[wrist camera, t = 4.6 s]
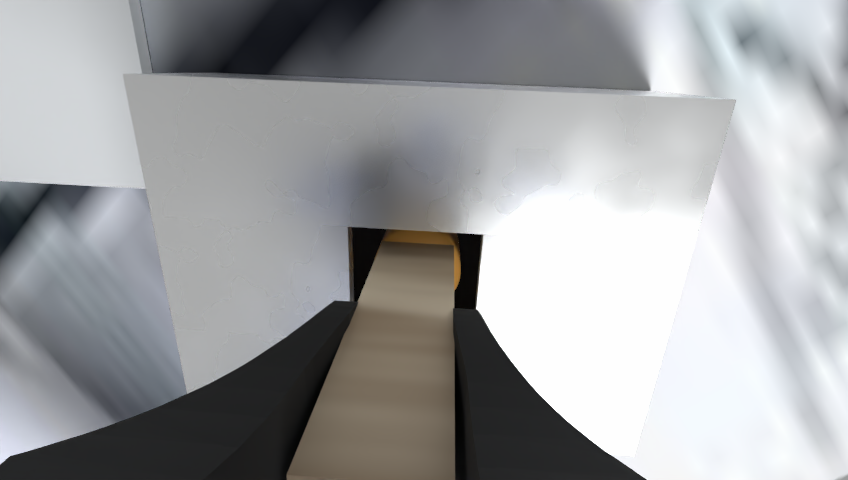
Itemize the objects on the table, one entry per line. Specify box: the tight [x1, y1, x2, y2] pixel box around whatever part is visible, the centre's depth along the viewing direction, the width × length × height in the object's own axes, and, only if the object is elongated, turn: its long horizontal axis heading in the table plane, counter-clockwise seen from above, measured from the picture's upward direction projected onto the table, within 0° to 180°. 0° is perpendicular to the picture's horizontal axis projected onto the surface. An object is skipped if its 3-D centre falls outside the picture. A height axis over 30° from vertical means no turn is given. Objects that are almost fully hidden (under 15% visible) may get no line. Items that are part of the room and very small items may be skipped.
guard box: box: [123, 73, 736, 456], centre depth 16 cm, size 12×16×5 cm
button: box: [374, 229, 461, 291], centre depth 16 cm, size 3×3×2 cm
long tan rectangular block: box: [287, 241, 455, 480], centre depth 11 cm, size 2×2×9 cm
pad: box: [0, 0, 153, 189], centre depth 16 cm, size 9×9×1 cm
